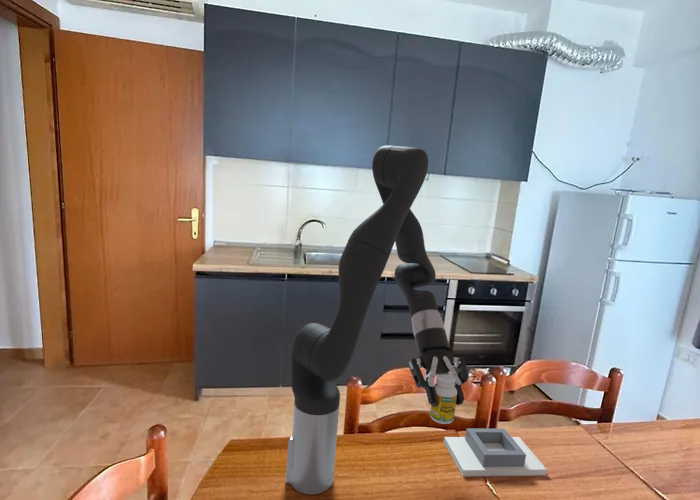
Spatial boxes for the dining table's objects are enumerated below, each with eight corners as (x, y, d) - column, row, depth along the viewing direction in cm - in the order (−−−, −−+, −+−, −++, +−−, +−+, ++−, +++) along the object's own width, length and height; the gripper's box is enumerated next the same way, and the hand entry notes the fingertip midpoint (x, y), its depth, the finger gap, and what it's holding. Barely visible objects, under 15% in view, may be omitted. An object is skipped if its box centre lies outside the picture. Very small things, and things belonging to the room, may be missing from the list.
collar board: (462, 476, 89) (465, 458, 89) (443, 442, 101) (445, 426, 100) (545, 475, 92) (549, 457, 91) (518, 442, 104) (520, 426, 103)
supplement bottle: (444, 409, 94) (449, 371, 92) (458, 423, 89) (464, 382, 87) (424, 412, 92) (429, 373, 90) (437, 426, 87) (442, 385, 85)
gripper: (407, 326, 92) (424, 402, 83) (463, 325, 96) (485, 398, 87) (396, 339, 98) (411, 412, 89) (449, 338, 102) (468, 407, 93)
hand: (447, 404), depth 88 cm, fingers closed on supplement bottle, 5 cm apart
